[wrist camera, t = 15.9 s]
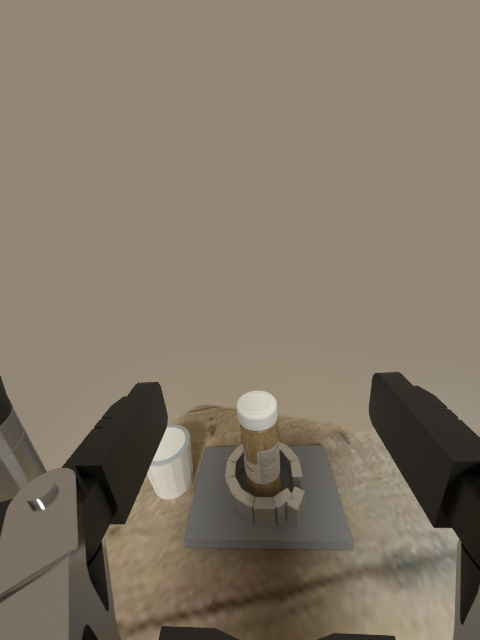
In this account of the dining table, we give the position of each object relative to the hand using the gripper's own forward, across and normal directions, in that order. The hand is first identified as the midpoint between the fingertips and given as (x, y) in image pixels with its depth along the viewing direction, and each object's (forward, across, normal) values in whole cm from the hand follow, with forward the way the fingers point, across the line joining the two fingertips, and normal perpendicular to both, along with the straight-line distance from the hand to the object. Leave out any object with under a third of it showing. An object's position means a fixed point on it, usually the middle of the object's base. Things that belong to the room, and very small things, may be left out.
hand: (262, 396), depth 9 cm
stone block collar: (+14, +1, +25) cm, 29 cm away
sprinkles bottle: (+14, +1, +26) cm, 29 cm away
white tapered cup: (+17, +14, +27) cm, 35 cm away
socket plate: (+14, +1, +27) cm, 30 cm away
